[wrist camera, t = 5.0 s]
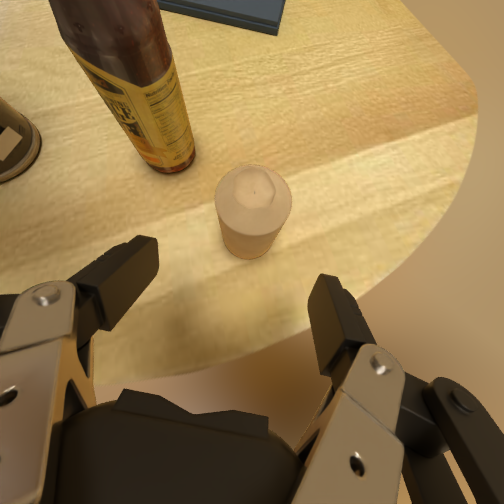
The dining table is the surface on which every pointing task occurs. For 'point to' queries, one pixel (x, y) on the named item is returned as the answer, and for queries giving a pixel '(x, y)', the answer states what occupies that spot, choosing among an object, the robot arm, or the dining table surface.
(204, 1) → the dark grey rectangular slab
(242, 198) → the candle
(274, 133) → the dining table surface
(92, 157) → the dining table surface
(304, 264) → the dining table surface
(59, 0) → the sauce bottle
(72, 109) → the dining table surface
